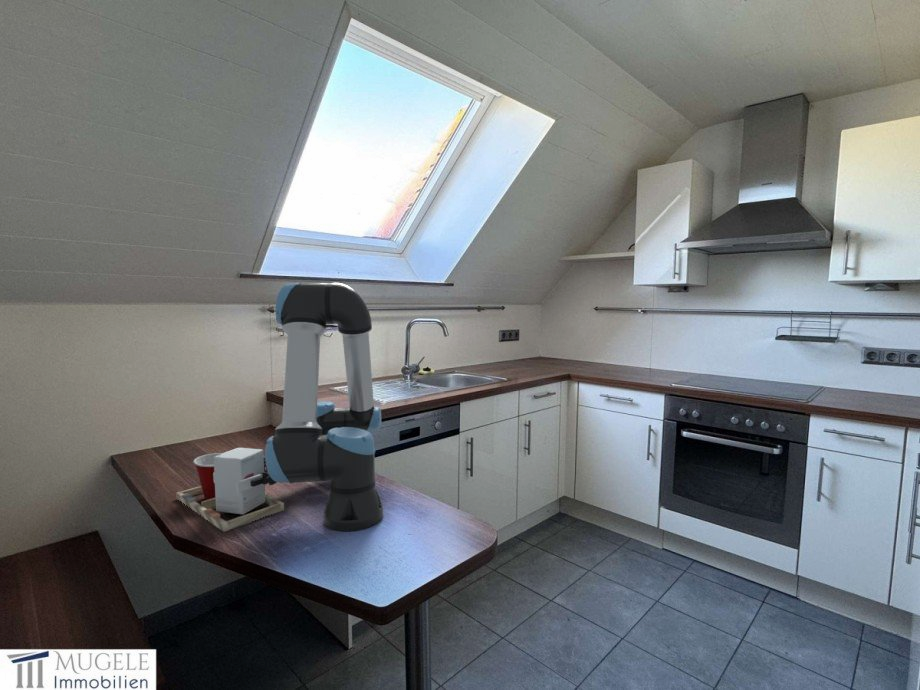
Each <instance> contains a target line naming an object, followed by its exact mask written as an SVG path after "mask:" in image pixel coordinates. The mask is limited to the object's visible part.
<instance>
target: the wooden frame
mask: <svg viewBox="0 0 920 690" xmlns="http://www.w3.org/2000/svg"><path fill="white" fill-rule="evenodd" d="M200 494H201V495H202V494H203V490H202V487H201V485H200V486H196V487H191V488H188V489H185V490H180V491H177V492H176V500H177V501H178V500H179V501H178V502H180V501H181V502H182V504H183V503H184V504H185V505H184V504H183V505H184V506H186V505H187V506H188V507H187V506H186V507H187V508H189V507H190V508H191V509H192V511H193V510H194V511H195V512H194V511H193V512H194V513H196V512H197V513H198V514H197V513H196V514H197V515H199V516H200V515H201V516H200V517H202V518H203V517H204V518H203V519H205V520H206V521H207V520H208V522H209V523H210V524H211V525H213V526H214V527H216V528H218V529H219V530H220V531H222V532H227V531H230V530H233V529H235V528H238V527H241V526H244V525H247V524H250V523H253V522H255V520H256V521H258V520H261V519H264V518H266V517H265V516H267V517H269V516H272V515H275V514H277V512H278V513H281V512H282V511H285V503H284V502H282V501H281V500H278V499H276V498H275V497H273V496H271V495H270V494H267V493H265V503H264V504H266V503H267V505H268V504H269V505H268V506H267V507H264V508H262V509H258V510H255V511H251V512H250V513H245V514H243V515H240V516H237V517H235V518H232V519H229V520H225V519H223V518H221V514H220V513H219V512H218V511H216V510H214V509H216V497H215V498H212V499H209V500H205V499H204V500H203V501H202V500H201V502H200V503H198V502H197V501H196V500H197V499H196V498H195V497H194V496H197V495H200ZM181 502H180V503H181ZM270 505H271V506H270ZM190 508H189V509H190ZM191 509H190V510H191ZM280 511H281V512H280ZM274 513H275V514H274ZM271 514H272V515H271ZM268 515H269V516H268ZM263 517H264V518H263ZM260 518H261V519H260ZM252 521H253V522H252Z"/></svg>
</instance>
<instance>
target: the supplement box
mask: <svg viewBox="0 0 920 690" xmlns="http://www.w3.org/2000/svg"><path fill="white" fill-rule="evenodd" d="M222 453H223V454H220V455H217V456H215V457H214V474H215V497H216V510H215V511H216V512H222V513H230V514H236V515H241V516H243V515H246V514H248V512H250V511H251V510H253V509H255V508H257V507H259V506H260V505H262V504H265V503H264V502H265V494H266V484H262V485H259V486H256V487H253V488H250V489H247V490H244V491H242V492H239V493H238V492H237V487H236V482H237V481H240V480H243V479H246V478H249V477H252V476H256V475H259V474H261V477H263V475H262V472H263V473H264V458H265V456H264V449H261V448H249V447H236V448H234V449H231V450H227V451H225V452H222Z"/></svg>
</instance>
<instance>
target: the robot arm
mask: <svg viewBox="0 0 920 690" xmlns="http://www.w3.org/2000/svg"><path fill="white" fill-rule="evenodd" d="M275 319H276V322H277V323H278V324H279V325H281V327H282V328H281V329H282V330H283V332H284V333H285V334H286V336H287V339H286V352H285V353H286V354H285V355H286V359H285V373H284V387H283V389H284V390H283V404H282V405H283V406H282V420H281V423H280V424H279V425H278V426H277V427H275V429H274V435H271V436H269V437H268V438H267V440H266V445H265V449H264V455H265V456H264V473H263V472H262V475H263V477H261V474H259V475H256V476H252V477H249V478H246V479H243V480H240V481H237V482H236V487H237V492H238V493H239V492H242V491H244V490H247V489H250V488H253V487H256V486H259V485H262V484H265V485H268V486H273V485H275V484H277V483H281V484H282V483H289V484H294V483H313V482H329V492H328V493H329V494H328V497H327V501H326V505H325V509H324V510H323V524H324V526H326V528H328V529H331V530H334V531H340V532H350V531H353V532H354V531H359V530H364V529H367V528H369V527H372V526H374V525H376V524H378V523H379V522H380V521H381V520H382V519H383V516H384V507H383V503H382V501H381V498H380V495H379V493H378V491H377V486H376V467H375V466H376V464H375V463H376V462H375V459H376V458H375V454H376V448H375V440H374V439H375V438H374V436H373V435H372V433H371V432H372V431H373V432H374V431H379V430H380V429H381V427H382V409H381V407H379V406H375V405H374V404H375V403H374V389H373V377H372V376H373V375H372V373H373V372H372V363H371V359H372V358H371V347H370V346H371V345H370V334H369V333H370V332H371V331H372V329H373V327H372V326H373V325H372V318H371V314H370V311H369V308H368V306H367V304H366V302H365V301H364V299H363V298H362V296H361V295H360V294H359V293H358V292H357V291H355V289H354V288H352V287H350V286H349V285H346V284H345V283H340V282H331V283H329V282H327V283H326V282H315V283H314V282H308V283H307V282H306V283H303V282H297V283H287V284H285V285H283V286H282V287H281V288H280V289H279V291H278V293H277V297H276V302H275ZM327 325H337V329H338V333H339V334H340V335H342V344H343V345H342V346H343V354H344V364H345V365H344V366H345V376H346V383H347V395H348V406H349V407H336V406H335V403H334V402H332V401H327V400H326V401H318V395H319V376H320V375H319V372H320V350H321V346H320V345H321V337H322V336H323V335H324V334H325V333H326V332H327ZM213 476H214V483H215V474H214V473H213ZM377 522H378V523H377Z"/></svg>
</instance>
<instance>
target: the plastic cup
mask: <svg viewBox="0 0 920 690" xmlns="http://www.w3.org/2000/svg"><path fill="white" fill-rule="evenodd" d="M223 453H224V452H217V453H215V452H214V453H208V454H203V455H199V456H197V457H196V458H194V460H193V464H194V465H195V468H196V471H197V475H198V479H199V482H200V486H201V487H202V490H203V493H202V495H203V497H204V501H205V500H209V499H212V498H215V483H214V476H213V473H214V457H215V456H217V455H220V454H223Z"/></svg>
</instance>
